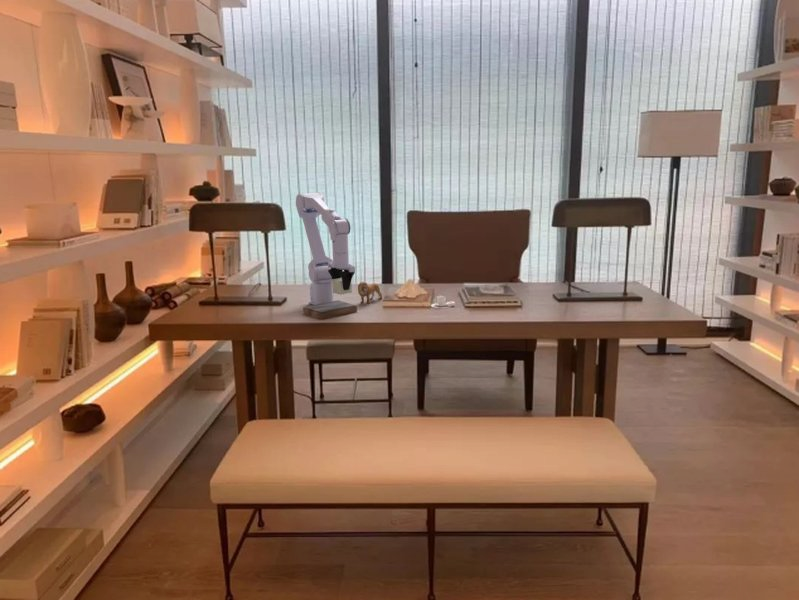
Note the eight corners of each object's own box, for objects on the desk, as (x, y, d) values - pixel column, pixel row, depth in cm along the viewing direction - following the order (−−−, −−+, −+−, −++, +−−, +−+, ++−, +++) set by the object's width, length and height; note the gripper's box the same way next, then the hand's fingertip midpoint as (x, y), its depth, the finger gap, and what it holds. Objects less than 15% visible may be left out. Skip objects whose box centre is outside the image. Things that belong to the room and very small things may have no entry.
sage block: (332, 292, 235) (332, 279, 233) (343, 290, 238) (343, 277, 237) (340, 294, 231) (340, 281, 230) (351, 292, 234) (351, 279, 233)
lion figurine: (366, 306, 244) (366, 283, 242) (355, 304, 247) (354, 282, 244) (385, 298, 257) (384, 276, 255) (373, 297, 259) (373, 275, 257)
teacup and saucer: (457, 306, 243) (457, 295, 242) (447, 310, 236) (447, 299, 235) (437, 303, 248) (437, 293, 247) (427, 307, 241) (427, 297, 240)
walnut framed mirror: (303, 313, 235) (302, 307, 234) (338, 306, 245) (338, 300, 244) (321, 319, 226) (320, 312, 225) (357, 311, 236) (356, 305, 235)
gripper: (320, 251, 234) (321, 287, 237) (343, 255, 223) (344, 293, 226) (335, 249, 238) (337, 284, 241) (359, 253, 227) (360, 290, 230)
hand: (342, 288), depth 234 cm, fingers closed on sage block, 5 cm apart
